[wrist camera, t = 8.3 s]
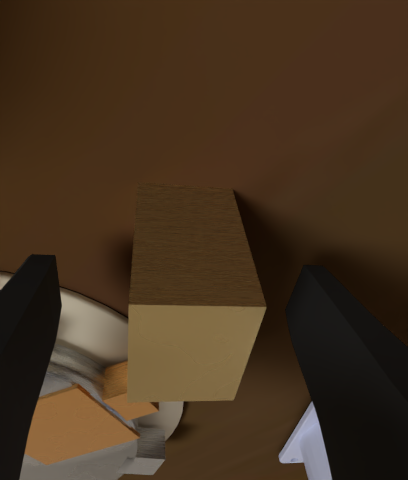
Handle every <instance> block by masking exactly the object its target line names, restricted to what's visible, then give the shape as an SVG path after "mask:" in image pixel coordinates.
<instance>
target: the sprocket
mask: <svg viewBox="0 0 408 480" xmlns="http://www.w3.org/2000/svg"><path fill="white" fill-rule="evenodd" d="M127 371H128V361H125V362H122V363H119V364H116V365H113V366H110V367H107V368H105V367H104V366H102V365H100V364H99V363H97V362H95V361H94V360H92V359H91V358H89V357H87V356H84V355H82V354H80V353H78V352H76V351H74V350H72V349H70V348H67V347H64V346H62V345H59V344H56V343H55V345H54V348H53V352H52V355H51V359H50V362H49V365H48V369H47V372H46V375H45V378H44V382H43V385H42V388H41V392H40V395H39V398H38V402H37V405H36V408H35V411H34V415H33V418H32V422H31V426H30V430H29V434H28V439H27V444H26V449H25V454H24V458H23V463H22V468H21V473H20V479H19V480H117V479H118V478H119V477H121V476H122V475H123V474H124V473H126V474H144V475H153V474H154V473H155V472H156V470H157V469H158V468H159V467H160V465H161V464H162V463H163V462H164V460H165V430H161V429H150V428H140V427H138V419H139V418H138V417H141V416H145V415H148V414H151V413H155V412H158V411H159V402H132V403H127Z"/></svg>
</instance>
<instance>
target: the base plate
mask: <svg viewBox="0 0 408 480" xmlns="http://www.w3.org/2000/svg"><path fill="white" fill-rule="evenodd" d="M13 275H14V274H11V273H7V272H2V271H0V290H1V289H2V288H3V286H4V285H5V284H6V283H7V282H8V281H9V280H10V278H11V277H12V276H13ZM60 294H61V302H62V309H61V315H60V321H59V327H58V332H57V337H56V342H55V343H56V344H59V345H62V346H64V347H67V348H70V349H72V350H74V351H76V352H78V353H80V354H82V355H84V356H87V357H89V358H91V359H92V360H94V361H95V362H97V363H99V364H100V365H102V366H104V367H105V368H107V367H110V366H113V365H116V364H119V363H122V362H125V361H128V318H126V317H124V316H123V315H121V314H119V313H118V312H116V311H114V310H112V309H111V308H109V307H107V306H105V305H103V304H101V303H98V302H96V301H94V300H92V299H90V298H87V297H85V296H83V295H81V294H79V293H76V292H73V291H70V290H67V289H64V288H61V287H60ZM182 412H183V401H176V402H159V411H158V412H155V413H151V414H148V415H145V416H141V417H138V418H139V419H138V427H140V428H150V429H161V430H165V441H166V440H167V439H168V438H169V437H170V436H171V434H172V433H173V431H174V430H175V428H176V427H177V425H178V423H179V421H180V418H181V415H182Z"/></svg>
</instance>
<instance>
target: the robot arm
mask: <svg viewBox="0 0 408 480" xmlns="http://www.w3.org/2000/svg"><path fill="white" fill-rule="evenodd" d="M61 309H62V302H61V294H60V287H59V279H58V272H57V265H56V257H55V255H34V254H32V255H30V256H29V257H28V258H27V259H26V260H25V262H24V263H23V264H22V265H21V266H20V268H19V269H18V270H17V271H16V272H15V274H14V275H13V276H12V277H11V278H10V280H9V281H8V282H7V283H6V284H5V285H4V286H3V288H2V289H1V290H0V480H19V479H20V473H21V468H22V463H23V458H24V454H25V449H26V444H27V439H28V434H29V430H30V426H31V422H32V418H33V415H34V411H35V408H36V405H37V402H38V398H39V395H40V392H41V388H42V385H43V382H44V378H45V375H46V372H47V369H48V365H49V362H50V359H51V355H52V352H53V348H54V345H55V342H56V337H57V332H58V327H59V321H60V315H61ZM285 311H286V316H287V322H288V327H289V332H290V336H291V341H292V344H293V347H294V350H295V353H296V356H297V359H298V362H299V365H300V367H301V370H302V373H303V376H304V379H305V382H306V385H307V388H308V390H309V393H310V396H311V399H312V402H311V403H310V405H309V407H308V408H307V410H306V412H305V413H304V415H303V417H302V418H301V420H300V421H299V423H298V425H297V426H296V428H295V430H294V431H293V433H292V435H291V436H290V438H289V439H288V441H287V443H286V444H285V446H284V448H283V449H282V451H281V452H280V454H279V460H280V462H281V463H299V462H304V465H305V468H306V472H307V476H308V479H309V480H408V347H407V346H406V345H405V344H403V343H402V342H401V341H400V340H399V339H398V338H397V337H396V336H394V335H393V334H392V333H391V332H390V331H389V330H388V329H387V328H386V327H385V326H383V325H382V324H381V323H380V322H379V321H378V320H377V319H376V318H375V317H374V316H373V315H372V314H371V313H370V312H369V311H368V310H367V309H366V308H365V307H364V306H363V305H362V304H361V303H360V302H359V301H358V300H357V299H356V298H355V297H354V296H353V295H352V294H351V293H350V292H349V291H348V290H347V289H346V288H345V287H344V286H343V285H342V284H341V283H340V282H339V281H338V280H337V279H336V278H335V277H334V276H333V275H332V274H331V273H330V272H329V271H328V270H327V269H326V268H324V267H323V266H318V265H304V266H303V268H302V270H301V273H300V275H299V278H298V280H297V282H296V285H295V287H294V290H293V292H292V295H291V297H290V299H289V302H288V304H287V307H286V309H285Z"/></svg>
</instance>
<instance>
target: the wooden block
mask: <svg viewBox="0 0 408 480" xmlns="http://www.w3.org/2000/svg"><path fill="white" fill-rule="evenodd" d="M266 308H267V306H266V303H265V299H264V296H263V292H262V289H261V285H260V282H259V279H258V275H257V272H256V268H255V265H254V261H253V258H252V255H251V251H250V248H249V244H248V241H247V237H246V234H245V231H244V227H243V224H242V220H241V217H240V213H239V210H238V207H237V203H236V200H235V196H234V193H233V190H232V189H230V188H215V187H200V186H186V185H171V184H156V183H142V182H138V188H137V201H136V215H135V228H134V241H133V255H132V268H131V281H130V295H129V318H128V371H127V403H132V402H176V401H219V400H234V398H235V395H236V392H237V389H238V387H239V384H240V381H241V378H242V375H243V373H244V370H245V367H246V364H247V361H248V358H249V356H250V353H251V350H252V347H253V344H254V342H255V339H256V336H257V333H258V330H259V328H260V325H261V322H262V319H263V316H264V314H265V311H266Z"/></svg>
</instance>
